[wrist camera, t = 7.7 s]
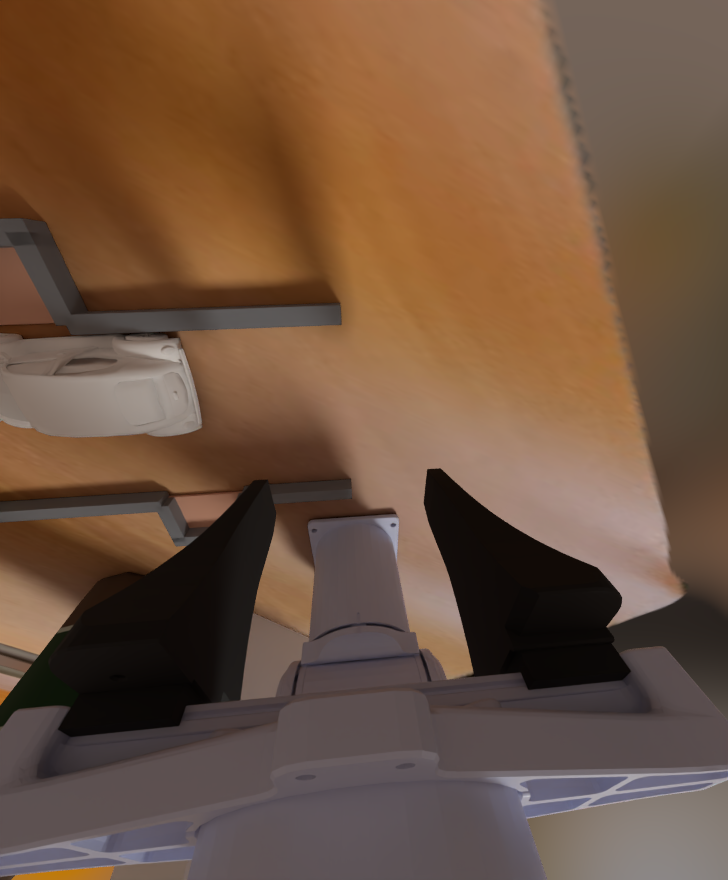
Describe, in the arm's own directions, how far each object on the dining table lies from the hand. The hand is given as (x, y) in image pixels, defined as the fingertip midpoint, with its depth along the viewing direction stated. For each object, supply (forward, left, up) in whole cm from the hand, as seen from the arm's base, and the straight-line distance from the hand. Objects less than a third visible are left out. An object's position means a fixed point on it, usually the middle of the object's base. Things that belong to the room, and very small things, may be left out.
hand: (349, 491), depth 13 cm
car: (+3, +15, -9) cm, 18 cm away
